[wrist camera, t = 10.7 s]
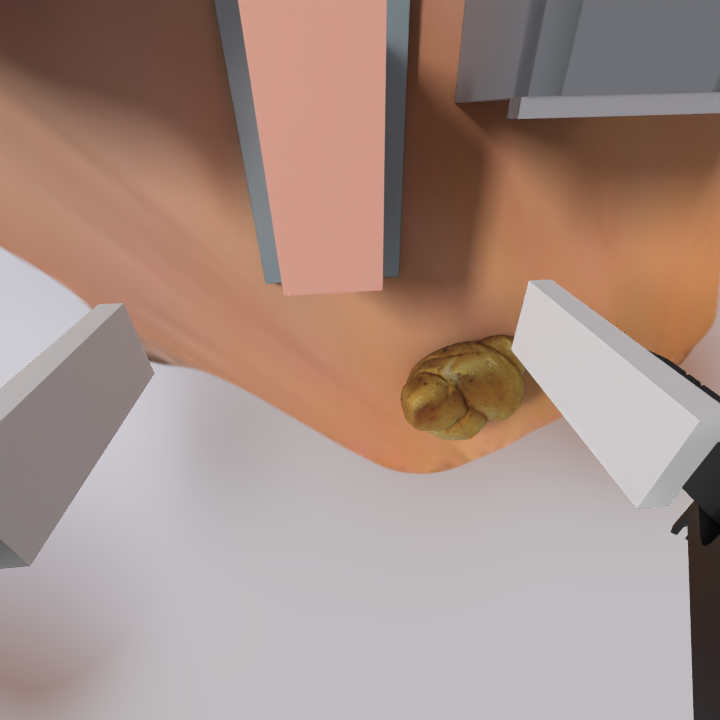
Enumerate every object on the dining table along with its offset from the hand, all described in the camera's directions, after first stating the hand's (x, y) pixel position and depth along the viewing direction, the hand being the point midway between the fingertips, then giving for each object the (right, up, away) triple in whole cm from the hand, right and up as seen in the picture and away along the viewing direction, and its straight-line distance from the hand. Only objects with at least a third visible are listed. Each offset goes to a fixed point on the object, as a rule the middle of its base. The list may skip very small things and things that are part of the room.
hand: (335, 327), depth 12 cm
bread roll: (+11, -2, +25) cm, 28 cm away
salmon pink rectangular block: (-2, +13, +12) cm, 18 cm away
